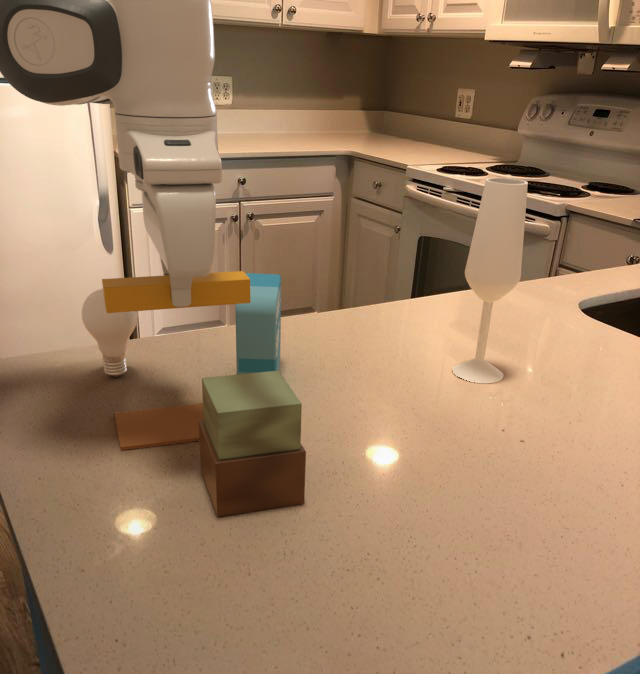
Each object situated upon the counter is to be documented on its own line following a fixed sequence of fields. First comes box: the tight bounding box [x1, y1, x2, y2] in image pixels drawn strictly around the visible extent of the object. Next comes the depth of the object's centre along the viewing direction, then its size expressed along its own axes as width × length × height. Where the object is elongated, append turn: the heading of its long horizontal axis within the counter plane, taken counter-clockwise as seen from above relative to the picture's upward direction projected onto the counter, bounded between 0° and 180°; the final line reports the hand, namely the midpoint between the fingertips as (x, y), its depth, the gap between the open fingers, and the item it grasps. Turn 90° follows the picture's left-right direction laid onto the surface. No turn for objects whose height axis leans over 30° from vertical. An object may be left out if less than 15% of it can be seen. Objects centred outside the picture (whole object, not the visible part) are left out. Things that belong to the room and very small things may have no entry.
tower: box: [199, 370, 307, 518], centre depth 64 cm, size 8×8×10 cm
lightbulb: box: [81, 287, 139, 378], centre depth 85 cm, size 6×6×11 cm
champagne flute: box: [452, 177, 529, 384], centre depth 87 cm, size 7×7×24 cm
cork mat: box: [114, 402, 204, 451], centre depth 77 cm, size 14×8×1 cm, turn 109°
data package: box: [235, 272, 282, 375], centre depth 86 cm, size 12×4×12 cm, turn 0°
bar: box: [101, 270, 251, 313], centre depth 70 cm, size 14×3×2 cm, turn 109°
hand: (177, 297), depth 70 cm, fingers closed on bar, 3 cm apart
